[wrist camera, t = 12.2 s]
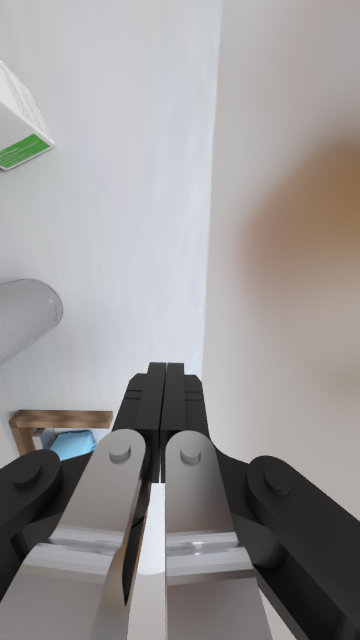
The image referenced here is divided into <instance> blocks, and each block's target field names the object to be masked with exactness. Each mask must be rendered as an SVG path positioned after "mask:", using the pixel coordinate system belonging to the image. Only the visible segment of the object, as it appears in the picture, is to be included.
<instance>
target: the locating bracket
mask: <svg viewBox="0 0 360 640" xmlns="http://www.w3.org/2000/svg"><path fill="white" fill-rule="evenodd" d="M112 419H113V411H60V410H19V411H18V412H17V413H16V414H15V415H14V416H13V417H12V418H11V419H10V420H9V421H8V422H9V424H10V427H11V430H12V433H13V436H14V439H15V442H16V444H17V447H18V450H19V453H20V456H22V455H24V454H26V453H29V452H31V451H34V450H36V448H35V445H34V442H33V439H32V436H33V435H34V433H33V430H32V427H37V428H107V429H109V427H110V424H111V422H112Z"/></svg>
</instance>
